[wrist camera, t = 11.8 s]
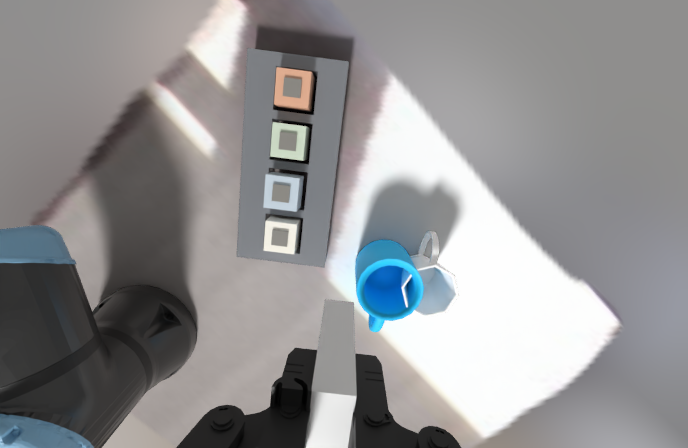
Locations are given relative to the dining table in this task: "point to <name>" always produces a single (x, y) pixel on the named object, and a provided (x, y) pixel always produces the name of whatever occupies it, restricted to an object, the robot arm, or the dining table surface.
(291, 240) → the key ivory
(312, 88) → the orange hollow cube
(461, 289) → the dining table surface
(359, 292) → the mug
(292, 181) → the key blue
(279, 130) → the pale green square block
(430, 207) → the dining table surface
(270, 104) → the grey board
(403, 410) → the dining table surface
